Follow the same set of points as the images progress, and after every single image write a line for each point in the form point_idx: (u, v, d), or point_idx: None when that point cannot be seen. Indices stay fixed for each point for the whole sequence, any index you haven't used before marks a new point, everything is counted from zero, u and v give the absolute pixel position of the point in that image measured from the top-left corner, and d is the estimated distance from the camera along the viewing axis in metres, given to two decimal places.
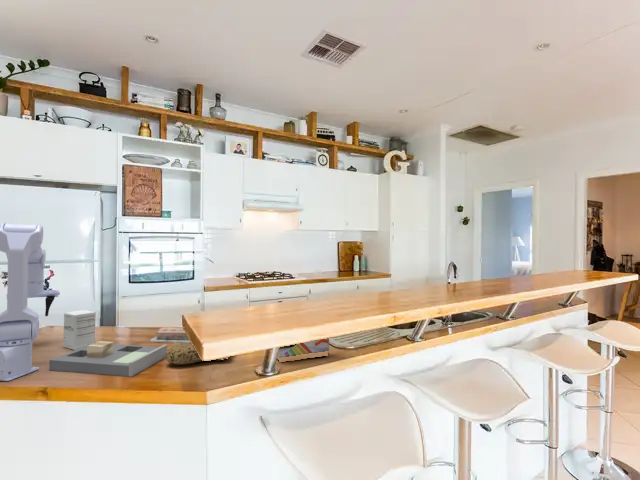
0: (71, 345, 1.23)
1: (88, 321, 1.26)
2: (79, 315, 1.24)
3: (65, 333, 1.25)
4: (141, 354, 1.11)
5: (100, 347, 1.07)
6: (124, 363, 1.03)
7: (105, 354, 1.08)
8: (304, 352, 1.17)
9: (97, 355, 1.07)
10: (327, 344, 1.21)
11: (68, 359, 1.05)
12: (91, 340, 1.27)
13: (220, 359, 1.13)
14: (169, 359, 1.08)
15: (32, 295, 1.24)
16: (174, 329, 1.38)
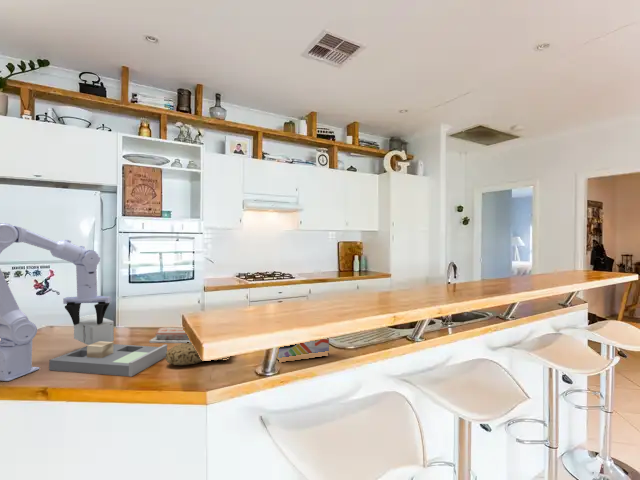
0: (75, 334, 1.22)
1: None
2: None
3: (80, 326, 1.20)
4: (141, 354, 1.11)
5: (100, 347, 1.07)
6: (124, 363, 1.03)
7: (105, 354, 1.08)
8: (304, 352, 1.17)
9: (97, 355, 1.07)
10: (327, 344, 1.21)
11: (68, 359, 1.05)
12: None
13: None
14: (169, 360, 1.07)
15: (82, 300, 1.16)
16: (174, 329, 1.38)
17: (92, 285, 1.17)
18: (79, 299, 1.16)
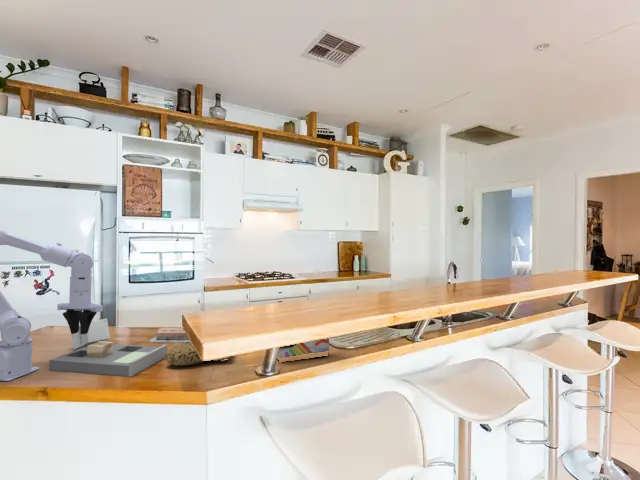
0: (73, 344, 1.22)
1: None
2: (92, 341, 1.18)
3: None
4: (141, 354, 1.11)
5: (100, 347, 1.07)
6: (124, 363, 1.03)
7: (105, 354, 1.08)
8: (304, 352, 1.17)
9: (97, 355, 1.07)
10: (327, 345, 1.21)
11: (68, 359, 1.05)
12: None
13: None
14: (169, 360, 1.07)
15: (72, 307, 1.08)
16: (174, 329, 1.38)
17: (84, 292, 1.09)
18: (70, 306, 1.08)
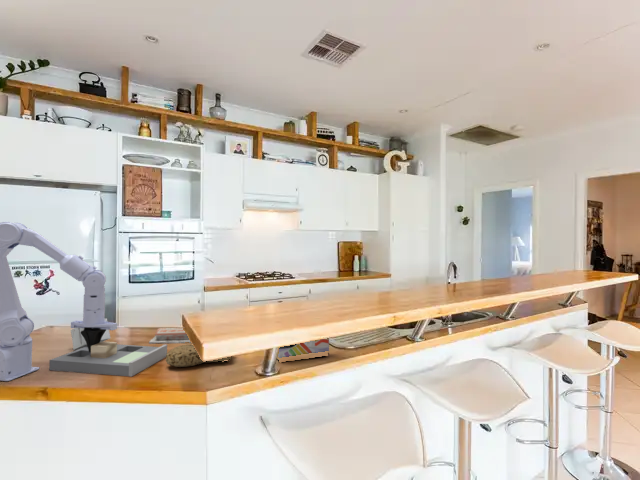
0: (73, 344, 1.22)
1: None
2: None
3: (76, 331, 1.21)
4: (141, 354, 1.11)
5: (104, 347, 1.07)
6: (124, 363, 1.03)
7: (109, 354, 1.08)
8: (304, 352, 1.17)
9: (101, 355, 1.07)
10: (327, 345, 1.21)
11: (68, 359, 1.05)
12: None
13: None
14: (170, 362, 1.06)
15: (86, 325, 1.07)
16: (173, 329, 1.37)
17: (98, 310, 1.08)
18: (84, 324, 1.07)
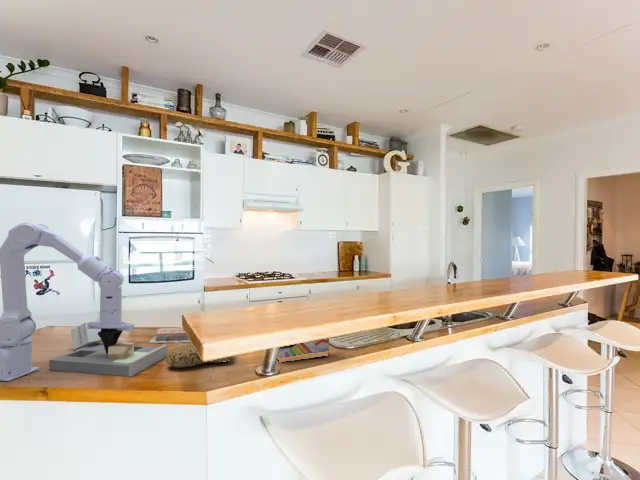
0: (73, 344, 1.22)
1: (98, 341, 1.22)
2: (92, 341, 1.18)
3: (76, 331, 1.21)
4: (141, 354, 1.11)
5: (121, 348, 1.06)
6: (124, 363, 1.03)
7: (126, 355, 1.07)
8: (304, 352, 1.17)
9: (118, 356, 1.06)
10: (327, 344, 1.21)
11: (68, 359, 1.05)
12: None
13: (222, 361, 1.11)
14: (170, 362, 1.05)
15: (103, 326, 1.06)
16: (173, 330, 1.37)
17: (115, 311, 1.08)
18: (101, 325, 1.07)
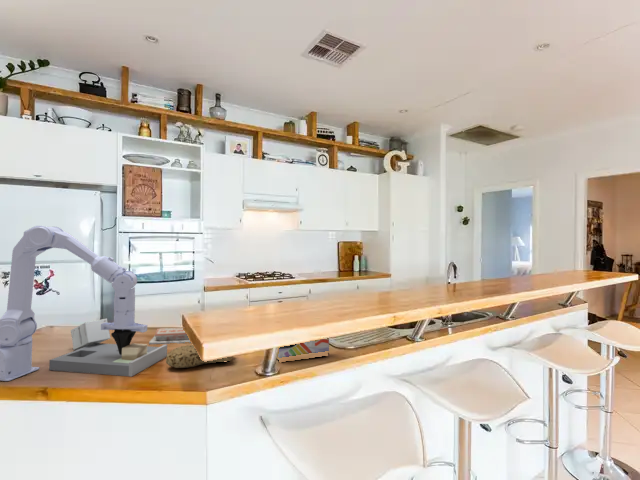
0: (73, 344, 1.22)
1: (98, 341, 1.22)
2: (92, 341, 1.18)
3: (76, 331, 1.21)
4: None
5: (135, 349, 1.05)
6: (124, 363, 1.03)
7: (140, 356, 1.07)
8: (304, 352, 1.17)
9: (132, 358, 1.05)
10: (327, 345, 1.21)
11: (68, 359, 1.05)
12: None
13: (222, 361, 1.11)
14: (170, 363, 1.05)
15: (117, 327, 1.06)
16: (173, 330, 1.37)
17: (129, 311, 1.07)
18: (114, 326, 1.06)
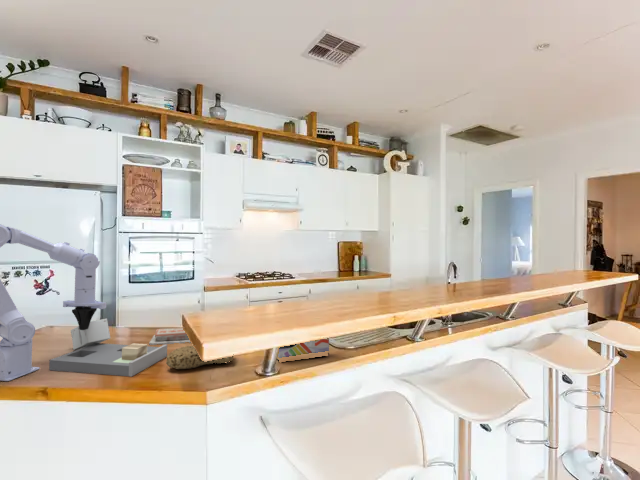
0: (73, 344, 1.22)
1: (98, 341, 1.22)
2: (92, 341, 1.18)
3: (76, 331, 1.21)
4: None
5: (135, 349, 1.05)
6: (124, 363, 1.03)
7: (140, 356, 1.07)
8: (304, 352, 1.17)
9: (132, 358, 1.05)
10: (327, 344, 1.21)
11: (68, 359, 1.05)
12: None
13: (223, 362, 1.10)
14: (171, 364, 1.04)
15: (77, 304, 1.13)
16: (173, 330, 1.37)
17: (88, 289, 1.14)
18: (75, 303, 1.13)
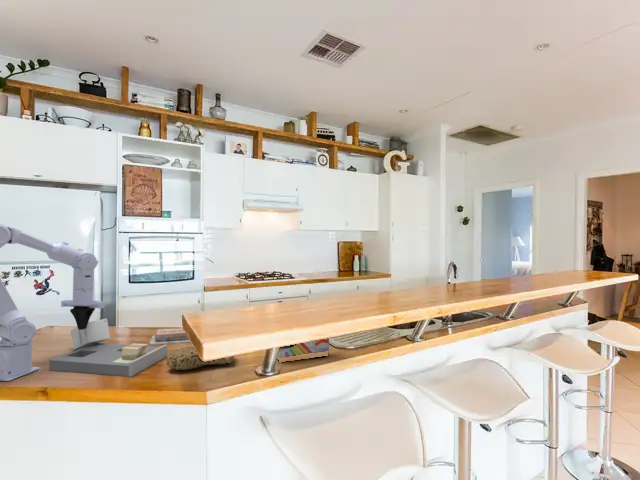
0: (73, 344, 1.22)
1: (98, 341, 1.22)
2: (92, 341, 1.18)
3: (76, 331, 1.21)
4: None
5: (135, 349, 1.05)
6: (124, 363, 1.03)
7: (140, 356, 1.07)
8: (304, 352, 1.17)
9: (132, 358, 1.05)
10: (327, 345, 1.21)
11: (68, 359, 1.05)
12: None
13: None
14: (171, 365, 1.03)
15: (75, 303, 1.13)
16: (173, 330, 1.37)
17: (87, 289, 1.14)
18: (73, 303, 1.13)
